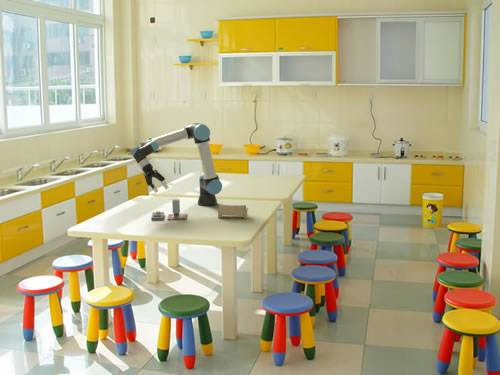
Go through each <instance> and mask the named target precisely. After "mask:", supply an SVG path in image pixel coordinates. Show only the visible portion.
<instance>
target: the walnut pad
mask: <svg viewBox="0 0 500 375" xmlns="http://www.w3.org/2000/svg"><path fill="white" fill-rule="evenodd" d="M187 216H188V213H179V217H174V213H171V214H168V215H167V219H166V220H167V221H187Z"/></svg>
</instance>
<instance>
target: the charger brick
mask: <svg viewBox="0 0 500 375" xmlns="http://www.w3.org/2000/svg"><path fill="white" fill-rule="evenodd" d="M180 212H181V208H180V199H179V198H175V199H174V198H172V214H174V217H179V214H181V213H180Z"/></svg>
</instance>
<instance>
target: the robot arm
mask: <svg viewBox="0 0 500 375" xmlns="http://www.w3.org/2000/svg"><path fill="white" fill-rule="evenodd" d="M210 136H211V130H210V128H209V127H208V126H207V125H206V124H204V123H199V122H197V123H196V122H195V123H192V124H190V125H189V124H188V125H187V126H184V127H182V128H181V129H178V130H176V131H172V132H170V133H166V134H163V135H161V136H157V137H155V138H152V139H148V140H143V141H142V142H141V143H140V144H139V145H136V146H134V147H133V148H132V149H131V150H130V154H131V155H132V157H133V159H134V160H135V161H136V163H137V164H138V166H139V167H140V169H141V170H142V172H143V176H144V180H145V182H146V185H147V186H148V187H151V188H152V190H153V192H154V193H155V194H157V193H158V192H159V189H158V188H157V186H156V184H155V183H153V178H155V179H156V180H158V181H159V182H160V183H161V185H162V186H163V188H164V189H165V190H168V189H169V188H170V187H169V186H168V184H167V182H166V181H165V180H166V178H165V177H164V176H163V174H161V173H160V172H159V171H158V170H157V169H154V167H153V165H152V163H151V162H150V160H149V159H148V158H147V157H148V156H150V155H151V154H153V153H155V152H157V151H158V150H159V149H160V148H161V147H165V146H168V145H170V144H173V143H176V142H180V141H182V140H183V141H184V140H187V141H188V140H190V139H193V141H194V144H195V145H196V146H197V150H198V153H199V157H200V162H201V165H202V170H203V175H199V196H198V199H197V205H198V206H201V207H204V206H205V207H211V206H216V205H218V200H217V196H216V195H217V194H218V195H219V193H220V192H221V191H222V190H223V183H222V181H221V180H220V177H219V174H218V173H217V172H216V169H215V164H214V161H213V155H212V151H211V147H210V141H211V138H210Z"/></svg>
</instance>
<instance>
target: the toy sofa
mask: <svg viewBox="0 0 500 375" xmlns="http://www.w3.org/2000/svg"><path fill="white" fill-rule="evenodd" d="M216 211H217V214H218V215H217V216H218V219H221V217H223V216H239V217H240V216H242V218H244V220H247V218H248V211H249V207H247V206H246V205H245V204H244V205H243V204H242V205H228V204H219V205H218V209H217V210H216Z"/></svg>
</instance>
